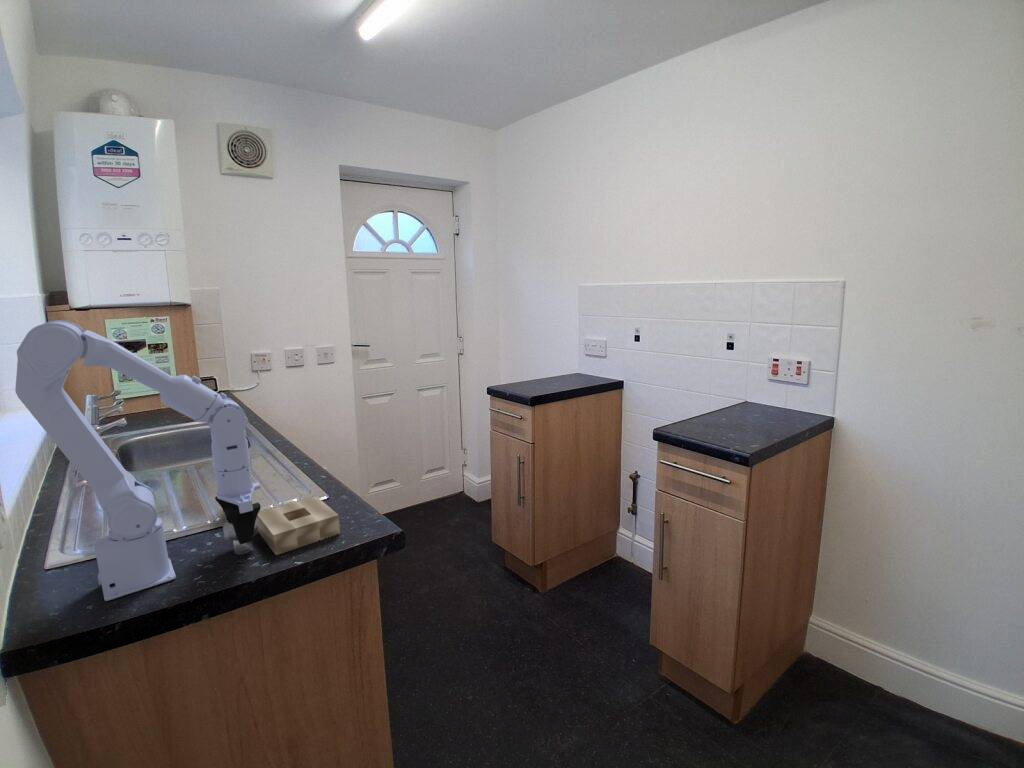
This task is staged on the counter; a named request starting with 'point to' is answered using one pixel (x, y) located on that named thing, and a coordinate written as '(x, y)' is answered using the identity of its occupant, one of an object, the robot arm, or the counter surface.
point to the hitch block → (297, 524)
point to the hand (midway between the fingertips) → (241, 535)
